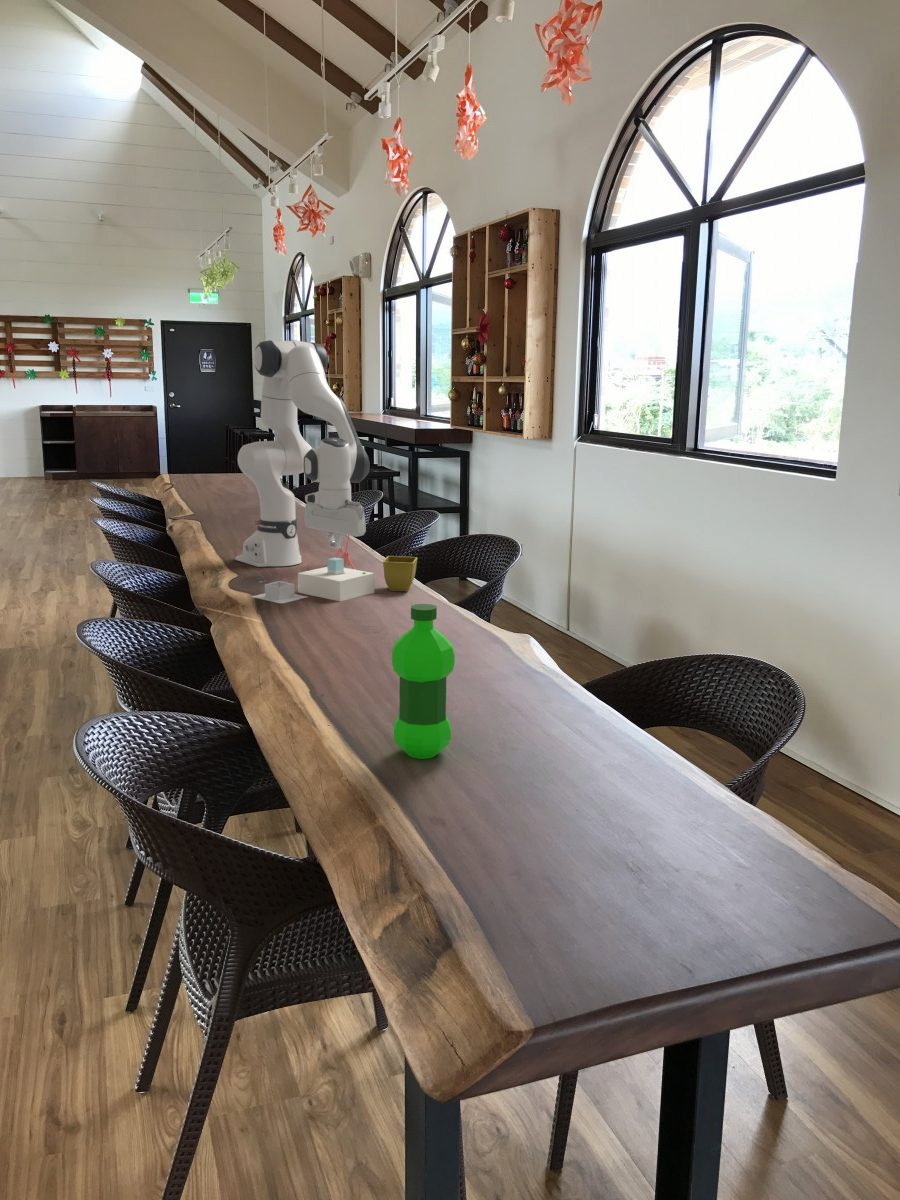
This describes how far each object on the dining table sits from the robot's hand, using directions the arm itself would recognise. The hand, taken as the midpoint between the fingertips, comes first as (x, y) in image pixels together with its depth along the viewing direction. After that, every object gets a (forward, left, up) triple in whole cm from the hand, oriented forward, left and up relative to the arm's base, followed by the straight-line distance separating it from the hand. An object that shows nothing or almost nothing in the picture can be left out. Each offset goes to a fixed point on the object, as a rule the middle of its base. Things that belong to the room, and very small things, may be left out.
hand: (334, 547), depth 265 cm
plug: (0, 0, -12) cm, 12 cm away
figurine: (-25, +24, -13) cm, 37 cm away
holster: (-7, -14, -13) cm, 21 cm away
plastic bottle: (+90, -74, -13) cm, 117 cm away
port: (+1, 0, -13) cm, 13 cm away
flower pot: (+11, +16, -13) cm, 23 cm away
